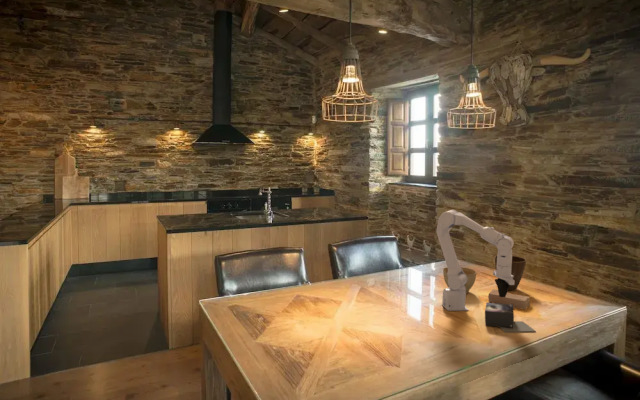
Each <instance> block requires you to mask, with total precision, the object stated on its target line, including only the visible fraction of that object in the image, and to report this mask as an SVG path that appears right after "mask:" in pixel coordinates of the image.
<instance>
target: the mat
mask: <svg viewBox="0 0 640 400" xmlns="http://www.w3.org/2000/svg"><path fill="white" fill-rule="evenodd" d="M499 328H500V330H502V331H503V332H504V333H536V330H535V329H534V328H532V326H530V325H528V324H527V323H525V322H524V321H523V320H522V321H520V320H519V321H515V320H514V328H509V327H499Z"/></svg>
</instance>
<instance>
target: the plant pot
mask: <svg viewBox="0 0 640 400" xmlns="http://www.w3.org/2000/svg"><path fill="white" fill-rule="evenodd" d="M526 262H527V259H526V258H523V257H520V256H516V255H512V267H511V275H513V276H514V277H513V280H515V283H514V285H510V287H509V289H508V291H511V292H512V291H513V292H514V291H516V290H517V289H518V287H519V286H520V285H519V284H520V282H521V281H522V278H523V274H524V271H525V267H526V265H527V263H526ZM494 264H495V270H496V269H497V255H495V256H494Z"/></svg>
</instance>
